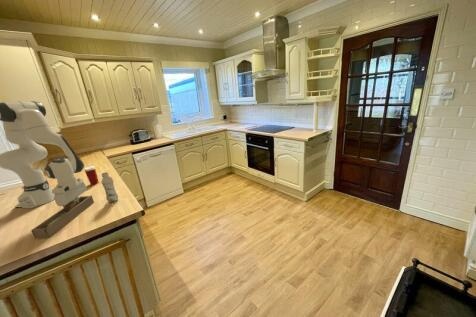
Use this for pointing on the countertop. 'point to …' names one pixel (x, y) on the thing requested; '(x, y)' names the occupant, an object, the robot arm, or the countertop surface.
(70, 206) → the block
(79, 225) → the countertop surface
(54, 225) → the long grey tray
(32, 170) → the robot arm
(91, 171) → the paper cup
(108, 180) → the plastic bottle
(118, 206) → the countertop surface
